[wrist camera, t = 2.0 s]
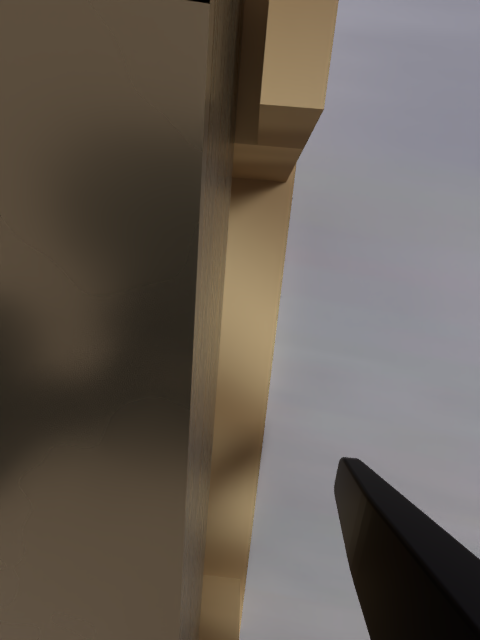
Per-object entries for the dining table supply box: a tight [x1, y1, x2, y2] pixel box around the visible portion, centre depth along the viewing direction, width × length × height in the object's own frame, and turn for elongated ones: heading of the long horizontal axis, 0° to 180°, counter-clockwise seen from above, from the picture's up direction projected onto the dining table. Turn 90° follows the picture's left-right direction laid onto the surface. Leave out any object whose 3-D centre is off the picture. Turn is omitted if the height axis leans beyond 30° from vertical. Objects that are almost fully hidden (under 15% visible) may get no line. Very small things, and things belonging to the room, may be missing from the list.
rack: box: [188, 0, 339, 640], centre depth 7 cm, size 21×6×4 cm, turn 175°
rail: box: [0, 0, 245, 640], centre depth 5 cm, size 20×3×3 cm, turn 175°
